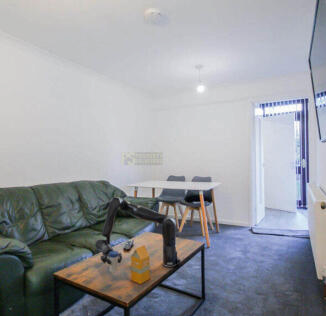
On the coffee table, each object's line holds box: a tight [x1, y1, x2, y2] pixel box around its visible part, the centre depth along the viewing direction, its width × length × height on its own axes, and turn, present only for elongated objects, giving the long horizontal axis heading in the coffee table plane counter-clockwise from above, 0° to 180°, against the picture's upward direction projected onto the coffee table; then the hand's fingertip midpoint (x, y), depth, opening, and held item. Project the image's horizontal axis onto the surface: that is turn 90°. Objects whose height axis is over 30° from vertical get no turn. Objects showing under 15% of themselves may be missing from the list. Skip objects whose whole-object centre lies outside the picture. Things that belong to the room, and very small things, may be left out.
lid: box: [109, 250, 120, 257], centre depth 151 cm, size 6×6×2 cm
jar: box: [109, 257, 119, 273], centre depth 152 cm, size 5×5×11 cm
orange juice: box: [130, 244, 150, 285], centre depth 152 cm, size 8×9×20 cm
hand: (115, 262), depth 149 cm, fingers closed on jar, 5 cm apart
